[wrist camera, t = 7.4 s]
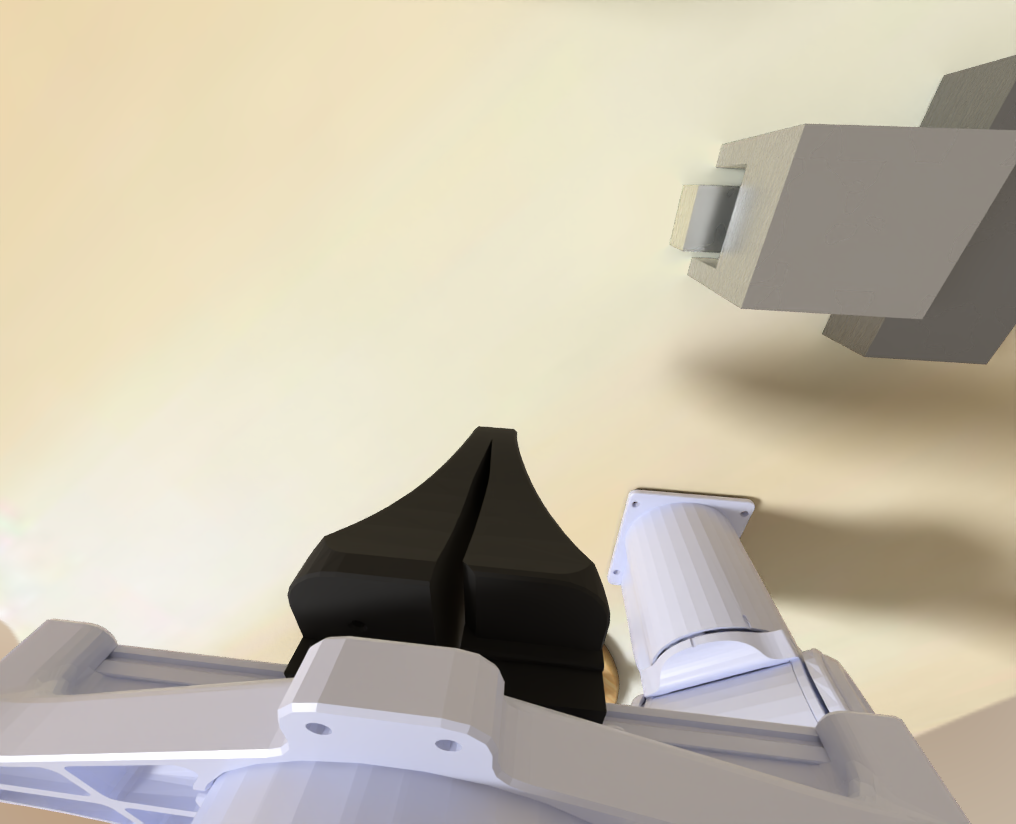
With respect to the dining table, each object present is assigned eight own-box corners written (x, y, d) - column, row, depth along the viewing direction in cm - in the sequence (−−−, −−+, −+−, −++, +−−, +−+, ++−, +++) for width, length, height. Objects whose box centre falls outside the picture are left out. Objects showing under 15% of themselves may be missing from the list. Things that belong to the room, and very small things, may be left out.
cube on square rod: (816, 281, 18) (922, 319, 13) (687, 274, 18) (740, 308, 13) (873, 149, 15) (1035, 130, 10) (721, 144, 16) (805, 123, 11)
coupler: (926, 340, 19) (986, 364, 16) (651, 324, 20) (666, 344, 17) (1089, 78, 14) (1213, 53, 11) (709, 70, 15) (743, 46, 12)
